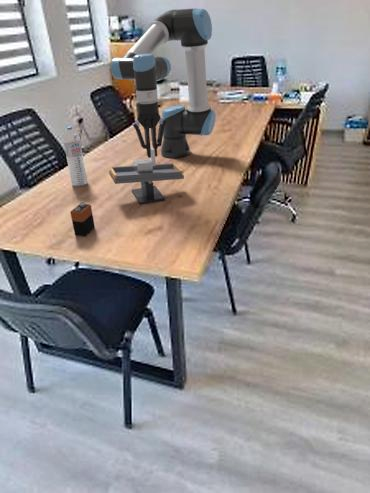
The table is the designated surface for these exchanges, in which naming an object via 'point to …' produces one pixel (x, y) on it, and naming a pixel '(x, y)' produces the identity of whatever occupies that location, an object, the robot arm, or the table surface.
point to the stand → (147, 194)
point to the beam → (146, 174)
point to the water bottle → (75, 158)
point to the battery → (82, 219)
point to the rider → (143, 166)
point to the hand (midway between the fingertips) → (153, 164)
